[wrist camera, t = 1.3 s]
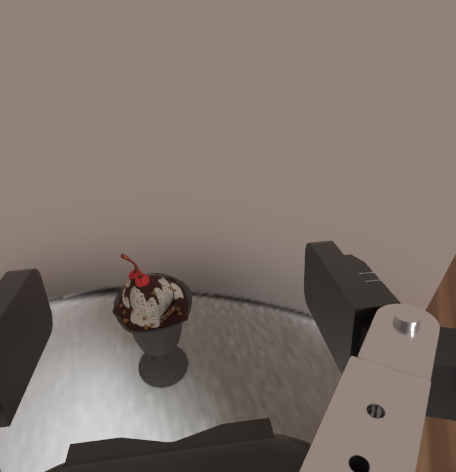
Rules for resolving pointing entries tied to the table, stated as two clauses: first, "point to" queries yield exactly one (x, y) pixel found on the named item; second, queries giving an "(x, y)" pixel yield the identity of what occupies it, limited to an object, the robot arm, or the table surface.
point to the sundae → (155, 323)
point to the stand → (435, 429)
